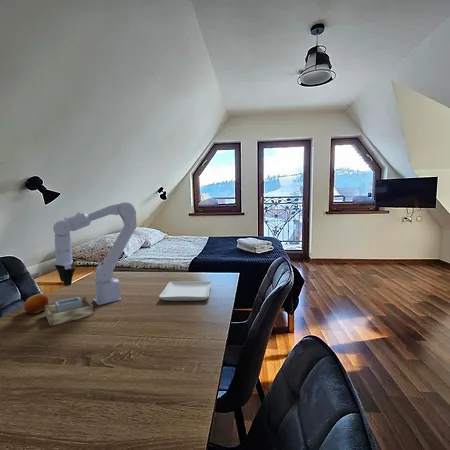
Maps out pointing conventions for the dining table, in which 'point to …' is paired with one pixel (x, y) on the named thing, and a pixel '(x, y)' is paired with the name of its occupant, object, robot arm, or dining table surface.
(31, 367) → the dining table surface
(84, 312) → the pine crate
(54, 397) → the dining table surface
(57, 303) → the small crate
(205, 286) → the salad plate
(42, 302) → the fruit
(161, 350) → the dining table surface
